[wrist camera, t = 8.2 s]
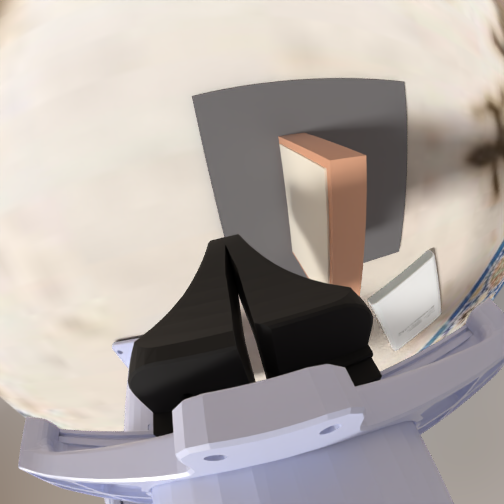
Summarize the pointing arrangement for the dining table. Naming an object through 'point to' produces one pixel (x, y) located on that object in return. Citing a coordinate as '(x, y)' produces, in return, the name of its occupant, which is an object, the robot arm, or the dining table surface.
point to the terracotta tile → (326, 207)
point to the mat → (314, 123)
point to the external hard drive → (409, 301)
